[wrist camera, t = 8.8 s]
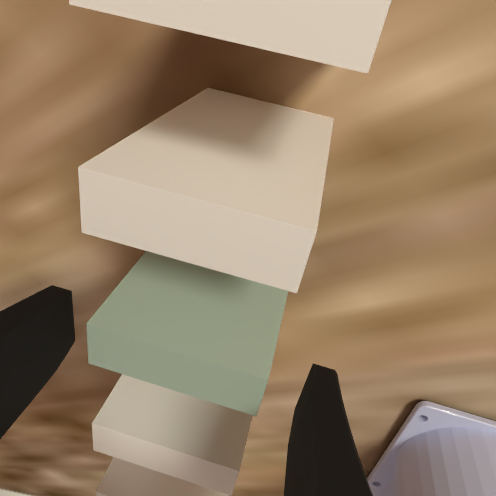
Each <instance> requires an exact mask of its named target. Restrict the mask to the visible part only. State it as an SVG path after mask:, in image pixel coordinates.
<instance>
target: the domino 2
mask: <svg viewBox="0 0 496 496" xmlns="http://www.w3.org/2000/svg"><path fill="white" fill-rule="evenodd" d="M333 120H334V118H331V117H327V116H323V115H319V114H315V113H311V112H307V111H303V110H298V109H294V108H290V107H286V106H282V105H278V104H274V103H270V102H266V101H261V100H257V99H253V98H249V97H245V96H241V95H237V94H233V93H229V92H224V91H220V90H216V89H212V88H207V89H205V90H203V91H202V92H200V93H198V94H197V95H195V96H193V97H192V98H190V99H189V100H187V101H185V102H184V103H182V104H180V105H179V106H177V107H175V108H174V109H172V110H170V111H169V112H167V113H166V114H164V115H162V116H161V117H159V118H157V119H156V120H154V121H152V122H151V123H149V124H148V125H146V126H144V127H143V128H141V129H139V130H138V131H136V132H134V133H133V134H131V135H130V136H128V137H126V138H125V139H123V140H121V141H120V142H118V143H116V144H115V145H113V146H112V147H110V148H108V149H107V150H105V151H103V152H102V153H100V154H98V155H97V156H95V157H94V158H92V159H90V160H89V161H87V162H85V163H84V164H82V165H80V166H79V167H78V172H79V191H80V209H81V228H82V233H85V234H88V235H92V236H95V237H99V238H103V239H106V240H110V241H113V242H117V243H120V244H124V245H127V246H131V247H134V248H138V249H141V250H145V251H149V252H152V253H156V254H159V255H163V256H166V257H170V258H173V259H177V260H180V261H184V262H188V263H191V264H195V265H198V266H202V267H205V268H209V269H212V270H216V271H219V272H223V273H227V274H230V275H234V276H237V277H241V278H244V279H248V280H251V281H255V282H258V283H262V284H265V285H269V286H273V287H276V288H280V289H283V290H287V291H290V292H294V293H297V291H298V288H299V285H300V282H301V279H302V276H303V273H304V269H305V266H306V263H307V260H308V257H309V254H310V251H311V248H312V245H313V242H314V238H315V235H316V232H317V227H318V220H319V214H320V207H321V200H322V194H323V187H324V180H325V174H326V167H327V160H328V154H329V147H330V140H331V134H332V127H333Z"/></svg>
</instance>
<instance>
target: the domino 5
mask: <svg viewBox="0 0 496 496" xmlns="http://www.w3.org/2000/svg"><path fill="white" fill-rule="evenodd" d="M96 496H229V495H227V494H224V493H221V492H218V491H215V490H212V489H209V488H206V487H203V486H200V485H197V484H194V483H191V482H188V481H185V480H182V479H179V478H176V477H173V476H170V475H167V474H164V473H161V472H158V471H155V470H152V469H149V468H146V467H143V466H140V465H137V464H134V463H131V462H128V461H125V460H122V459H119V458H116V457H113V459H112V461H111V463H110V465H109V467H108V469H107V471H106V473H105V475H104V477H103V478H102V480H101V482H100V484H99V486H98V488H97V490H96Z"/></svg>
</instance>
